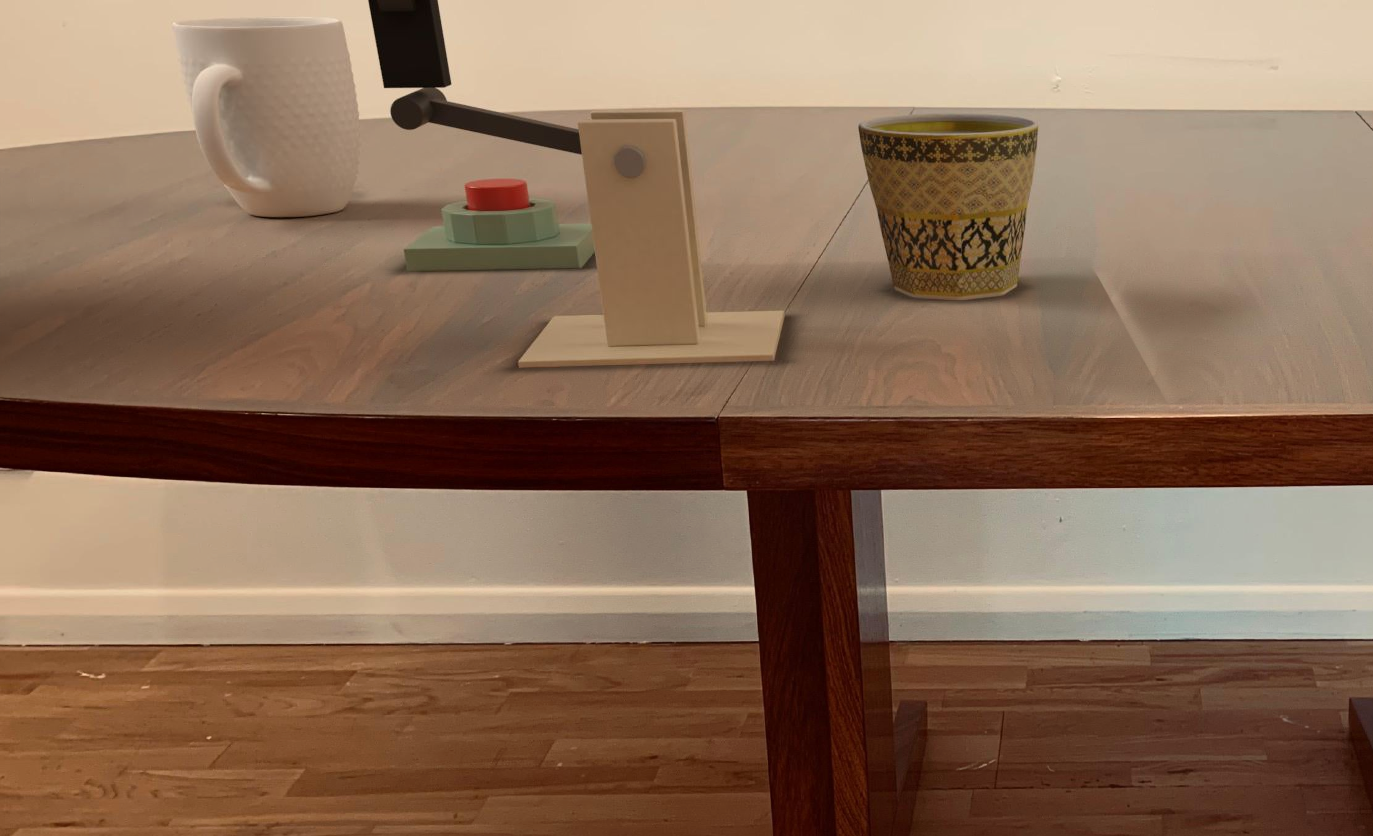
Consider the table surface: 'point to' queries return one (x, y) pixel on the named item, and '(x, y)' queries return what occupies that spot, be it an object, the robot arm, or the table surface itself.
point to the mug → (274, 110)
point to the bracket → (647, 258)
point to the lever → (480, 121)
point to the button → (497, 195)
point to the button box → (501, 240)
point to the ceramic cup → (951, 199)
